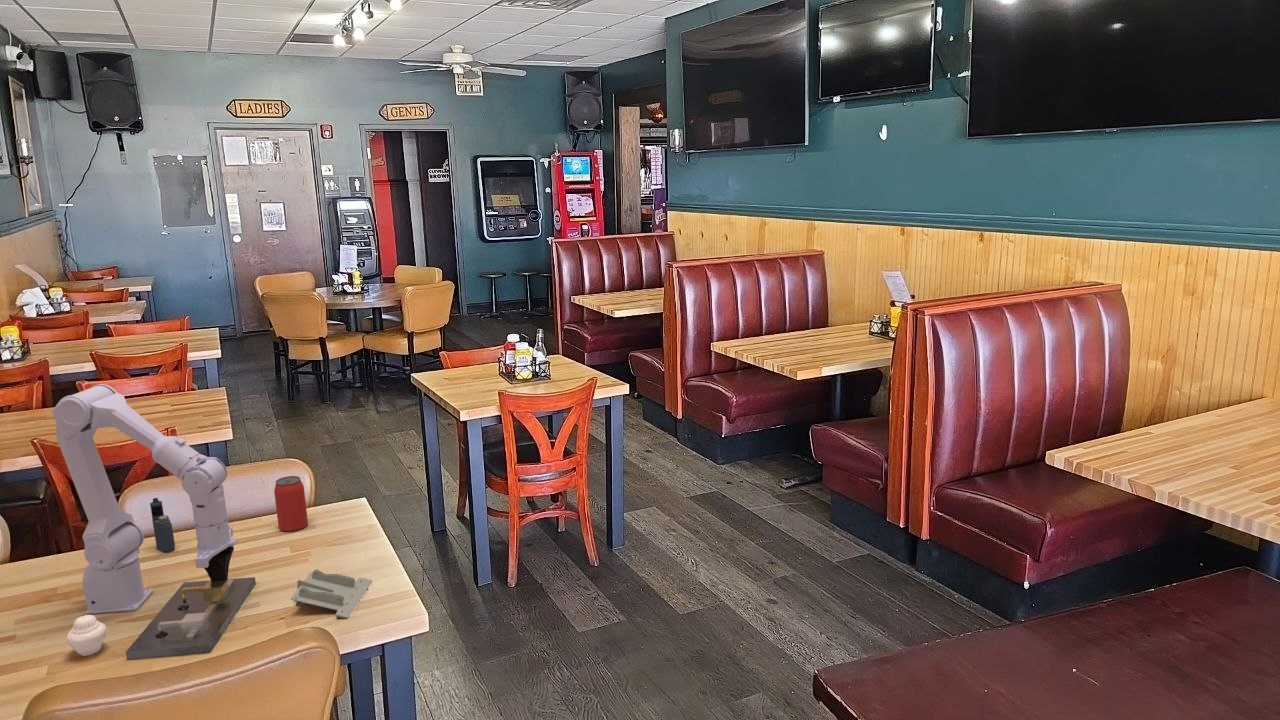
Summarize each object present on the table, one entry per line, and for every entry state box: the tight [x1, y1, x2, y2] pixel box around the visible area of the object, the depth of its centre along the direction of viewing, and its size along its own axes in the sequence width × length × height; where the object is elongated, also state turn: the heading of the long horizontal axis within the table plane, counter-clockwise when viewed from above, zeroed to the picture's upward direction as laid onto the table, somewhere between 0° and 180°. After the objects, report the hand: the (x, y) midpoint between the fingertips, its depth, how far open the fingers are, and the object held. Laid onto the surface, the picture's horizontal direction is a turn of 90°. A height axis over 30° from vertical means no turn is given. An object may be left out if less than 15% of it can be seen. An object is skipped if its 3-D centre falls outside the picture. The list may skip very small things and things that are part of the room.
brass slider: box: [182, 580, 229, 604], centre depth 166 cm, size 8×3×3 cm, turn 97°
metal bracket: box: [290, 568, 373, 619], centre depth 170 cm, size 14×6×15 cm
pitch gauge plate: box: [125, 576, 257, 660], centre depth 164 cm, size 14×26×4 cm, turn 7°
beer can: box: [273, 475, 309, 532], centre depth 204 cm, size 7×7×12 cm
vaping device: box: [149, 497, 176, 553], centre depth 193 cm, size 3×5×12 cm, turn 54°
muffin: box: [66, 614, 108, 657], centre depth 153 cm, size 6×6×7 cm
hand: (220, 585), depth 169 cm, fingers closed
